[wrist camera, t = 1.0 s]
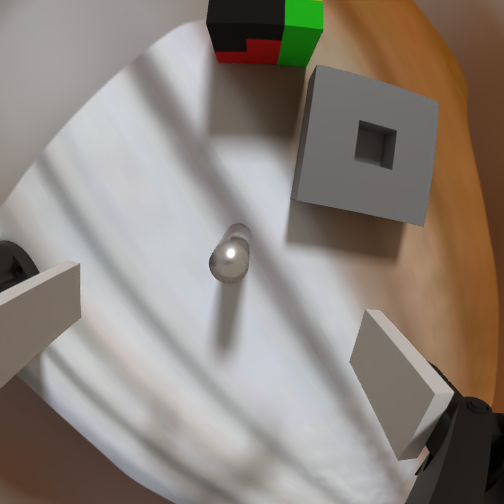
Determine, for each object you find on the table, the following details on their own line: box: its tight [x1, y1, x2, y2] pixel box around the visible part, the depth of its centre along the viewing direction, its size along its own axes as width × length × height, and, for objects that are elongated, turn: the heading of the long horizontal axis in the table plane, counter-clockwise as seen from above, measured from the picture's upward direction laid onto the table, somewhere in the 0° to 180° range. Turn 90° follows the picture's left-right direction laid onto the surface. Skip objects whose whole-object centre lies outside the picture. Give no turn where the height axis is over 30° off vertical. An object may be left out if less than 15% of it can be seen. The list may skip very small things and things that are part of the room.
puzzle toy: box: [206, 0, 323, 67], centre depth 25 cm, size 10×10×10 cm
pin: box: [209, 223, 251, 283], centre depth 29 cm, size 3×3×13 cm
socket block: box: [291, 64, 439, 227], centre depth 31 cm, size 14×14×5 cm
